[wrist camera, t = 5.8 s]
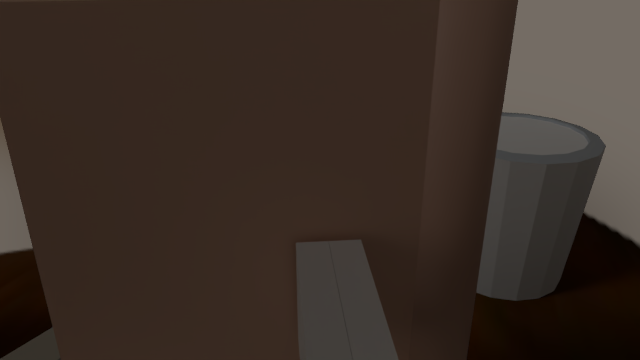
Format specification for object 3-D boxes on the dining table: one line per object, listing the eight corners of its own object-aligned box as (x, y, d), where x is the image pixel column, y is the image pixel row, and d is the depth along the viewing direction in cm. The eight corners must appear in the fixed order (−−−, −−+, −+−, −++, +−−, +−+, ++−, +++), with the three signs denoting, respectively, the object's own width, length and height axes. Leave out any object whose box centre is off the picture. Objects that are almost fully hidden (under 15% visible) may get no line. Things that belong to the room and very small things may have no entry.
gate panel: (-15, 520, 14) (-265, -132, 8) (17, 443, 16) (-161, -118, 10) (467, 454, 16) (559, -118, 10) (439, 393, 18) (500, -108, 12)
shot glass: (419, 230, 30) (430, 108, 27) (544, 232, 30) (568, 110, 27) (440, 307, 24) (457, 159, 21) (599, 311, 24) (638, 162, 21)
